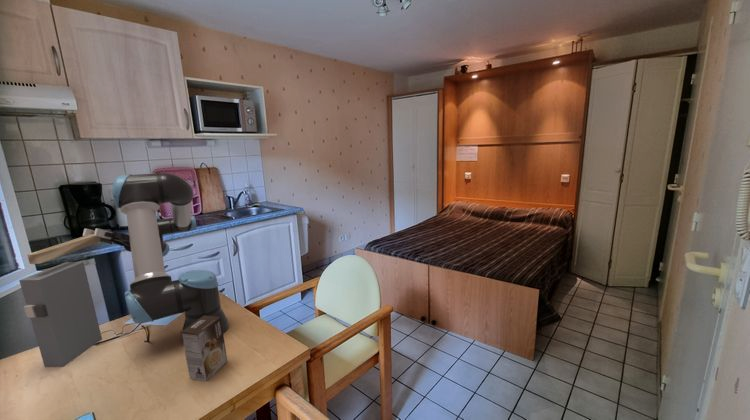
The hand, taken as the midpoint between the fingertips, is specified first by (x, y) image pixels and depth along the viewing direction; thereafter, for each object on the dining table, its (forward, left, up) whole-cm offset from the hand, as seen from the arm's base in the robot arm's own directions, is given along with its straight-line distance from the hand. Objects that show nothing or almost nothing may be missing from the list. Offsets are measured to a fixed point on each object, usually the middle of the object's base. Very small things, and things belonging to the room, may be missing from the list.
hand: (90, 232), depth 110 cm
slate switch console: (0, +15, -38) cm, 41 cm away
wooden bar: (0, +6, -4) cm, 8 cm away
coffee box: (-51, +23, -39) cm, 68 cm away
